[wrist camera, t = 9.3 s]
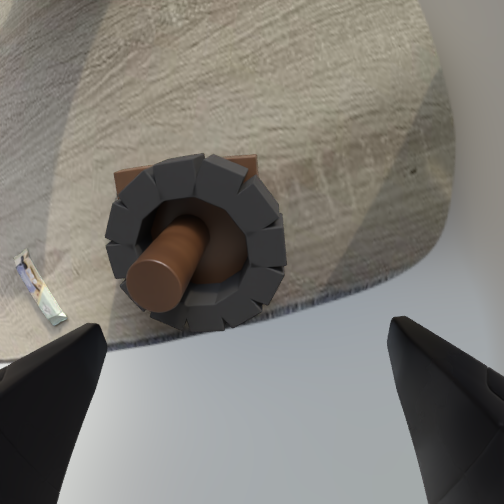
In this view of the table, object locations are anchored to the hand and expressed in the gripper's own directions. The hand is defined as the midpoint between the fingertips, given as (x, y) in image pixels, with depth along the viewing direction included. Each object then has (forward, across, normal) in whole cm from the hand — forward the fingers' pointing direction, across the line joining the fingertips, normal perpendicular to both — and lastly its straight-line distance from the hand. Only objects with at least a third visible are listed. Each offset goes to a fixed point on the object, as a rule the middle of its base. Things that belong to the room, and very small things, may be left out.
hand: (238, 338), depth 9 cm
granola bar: (+11, +18, +4) cm, 21 cm away
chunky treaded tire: (+9, +3, 0) cm, 10 cm away
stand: (+10, +4, 0) cm, 11 cm away
